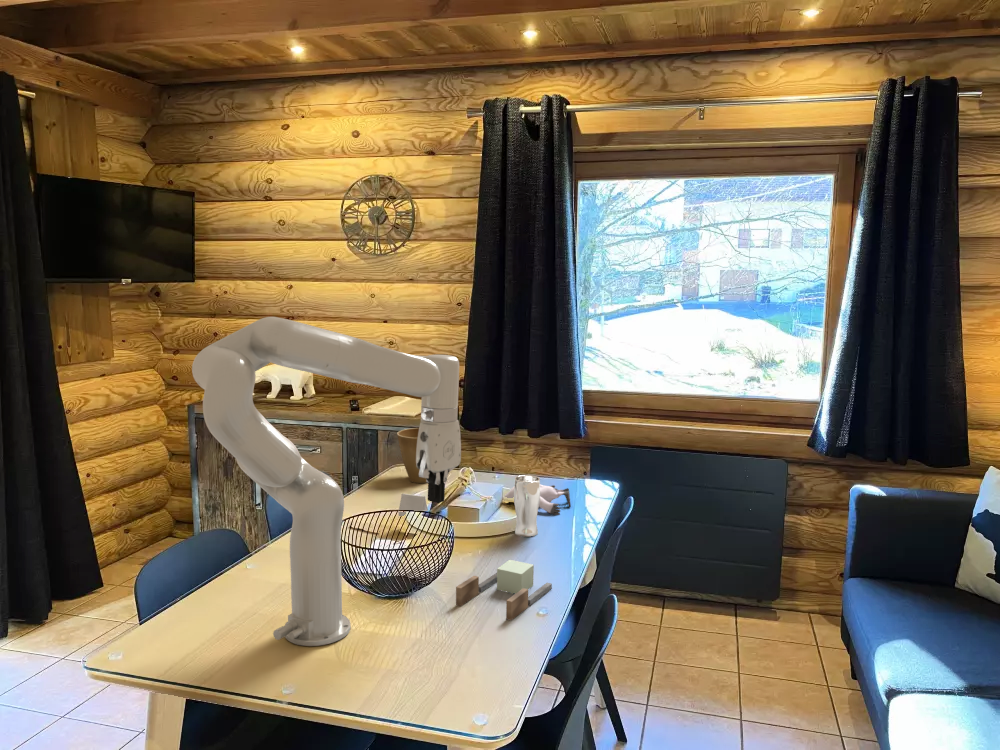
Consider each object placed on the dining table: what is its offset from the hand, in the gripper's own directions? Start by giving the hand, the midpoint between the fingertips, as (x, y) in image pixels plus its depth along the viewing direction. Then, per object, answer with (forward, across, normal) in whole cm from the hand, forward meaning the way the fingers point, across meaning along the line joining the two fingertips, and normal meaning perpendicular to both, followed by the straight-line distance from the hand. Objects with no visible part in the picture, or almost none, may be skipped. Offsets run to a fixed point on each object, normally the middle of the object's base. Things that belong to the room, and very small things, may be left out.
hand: (435, 500), depth 164 cm
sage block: (+21, +16, -11) cm, 29 cm away
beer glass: (+20, +47, +5) cm, 51 cm away
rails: (+21, +14, -12) cm, 28 cm away
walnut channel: (+21, +5, -12) cm, 25 cm away
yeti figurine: (+20, +70, +15) cm, 75 cm away
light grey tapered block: (+21, +31, +30) cm, 48 cm away
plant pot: (+20, +69, +59) cm, 93 cm away
